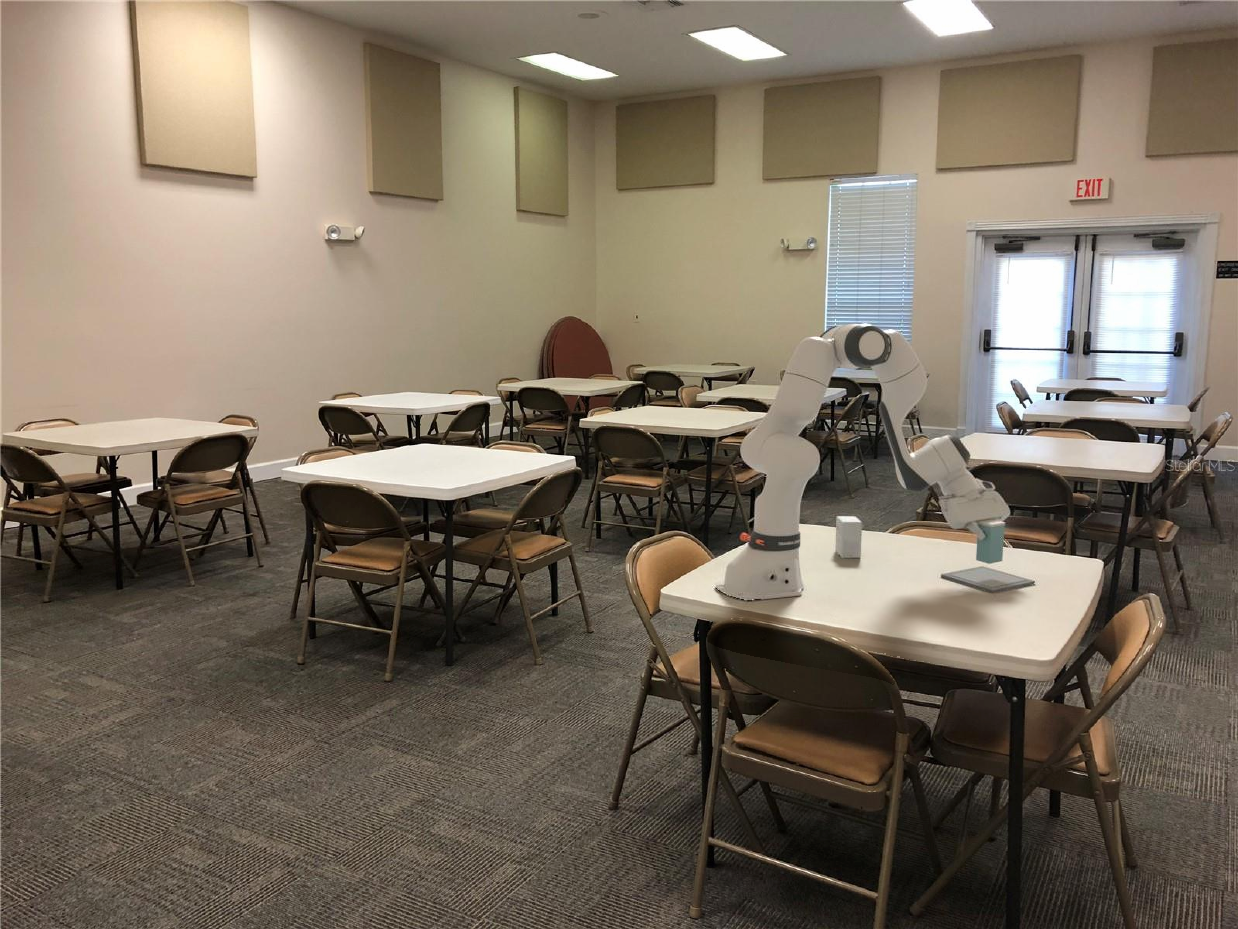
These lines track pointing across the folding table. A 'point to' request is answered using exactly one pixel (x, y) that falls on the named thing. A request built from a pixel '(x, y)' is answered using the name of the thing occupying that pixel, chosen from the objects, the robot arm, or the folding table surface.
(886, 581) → the folding table surface
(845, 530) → the small box
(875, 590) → the folding table surface
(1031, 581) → the plate
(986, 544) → the teal tin
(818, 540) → the folding table surface
